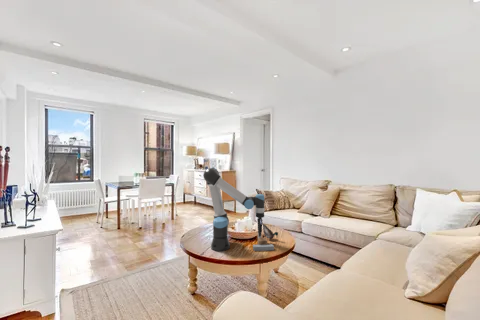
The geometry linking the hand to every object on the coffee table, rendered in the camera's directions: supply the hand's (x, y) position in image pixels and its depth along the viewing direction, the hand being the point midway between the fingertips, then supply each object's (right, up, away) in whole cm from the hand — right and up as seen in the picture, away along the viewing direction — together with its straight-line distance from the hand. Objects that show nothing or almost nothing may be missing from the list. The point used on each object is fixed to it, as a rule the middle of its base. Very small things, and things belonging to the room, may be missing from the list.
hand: (259, 239), depth 203 cm
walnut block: (+1, -2, -11) cm, 11 cm away
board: (+1, -2, -17) cm, 17 cm away
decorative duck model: (+12, -2, +5) cm, 13 cm away
